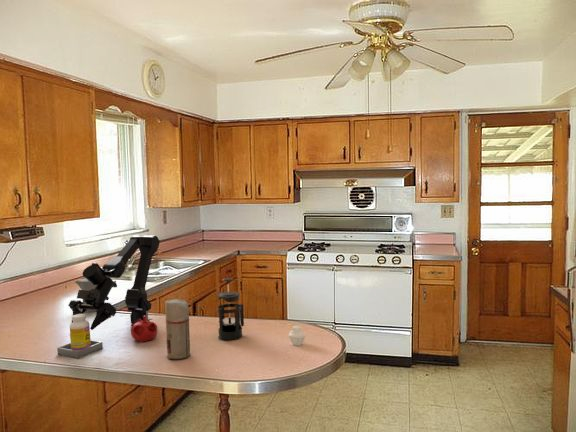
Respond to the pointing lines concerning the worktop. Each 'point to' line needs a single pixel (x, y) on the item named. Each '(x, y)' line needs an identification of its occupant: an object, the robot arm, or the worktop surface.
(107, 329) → the worktop surface
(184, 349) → the spray can
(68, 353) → the tray
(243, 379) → the worktop surface
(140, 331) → the red ball with holes
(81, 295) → the robot arm
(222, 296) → the french press
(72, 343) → the supplement bottle
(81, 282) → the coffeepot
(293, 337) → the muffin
